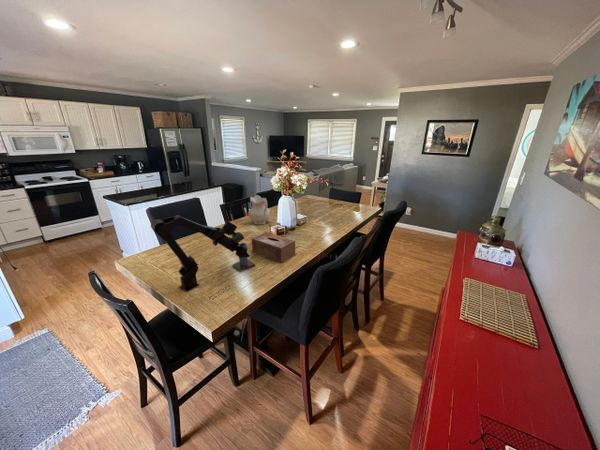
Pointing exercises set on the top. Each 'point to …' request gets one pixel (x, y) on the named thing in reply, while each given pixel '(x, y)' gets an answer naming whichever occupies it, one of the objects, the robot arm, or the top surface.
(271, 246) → the tissue box cover
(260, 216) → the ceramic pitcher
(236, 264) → the brown plate with knob
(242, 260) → the blue sleeve
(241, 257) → the robot arm
